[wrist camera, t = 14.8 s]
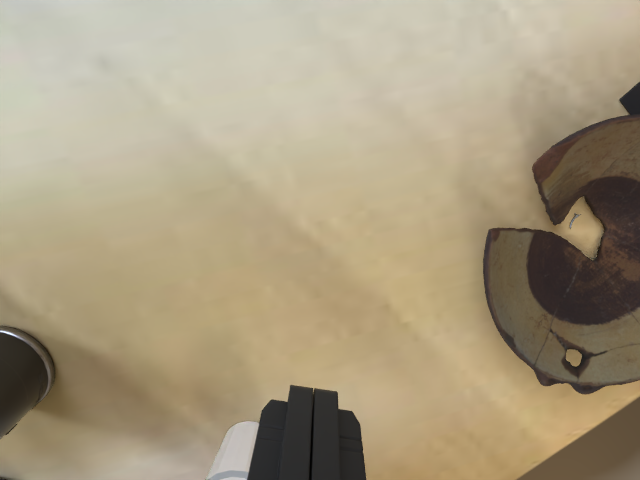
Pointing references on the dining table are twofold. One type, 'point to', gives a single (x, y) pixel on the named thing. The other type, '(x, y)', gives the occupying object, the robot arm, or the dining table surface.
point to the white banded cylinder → (235, 453)
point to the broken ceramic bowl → (575, 265)
